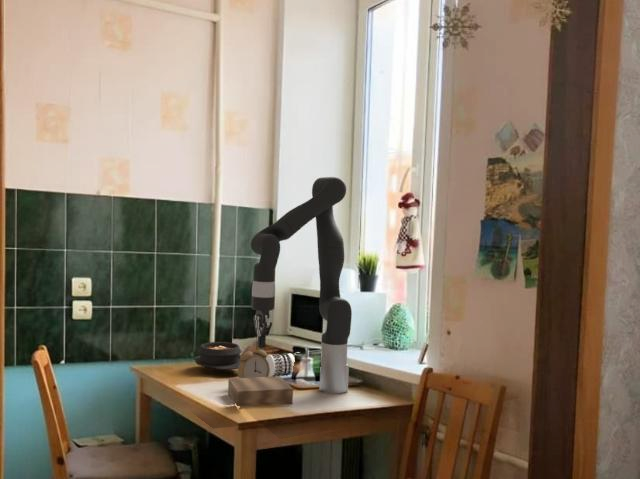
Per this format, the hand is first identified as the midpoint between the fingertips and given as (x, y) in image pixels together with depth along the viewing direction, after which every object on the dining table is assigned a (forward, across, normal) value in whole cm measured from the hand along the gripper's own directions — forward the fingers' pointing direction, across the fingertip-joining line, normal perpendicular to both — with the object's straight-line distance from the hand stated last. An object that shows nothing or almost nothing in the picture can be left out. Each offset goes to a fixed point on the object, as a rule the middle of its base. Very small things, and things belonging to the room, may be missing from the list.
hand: (261, 347), depth 223 cm
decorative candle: (+13, +28, -13) cm, 33 cm away
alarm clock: (+18, +17, -3) cm, 25 cm away
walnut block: (+18, 0, 0) cm, 18 cm away
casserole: (+18, +48, +1) cm, 51 cm away
